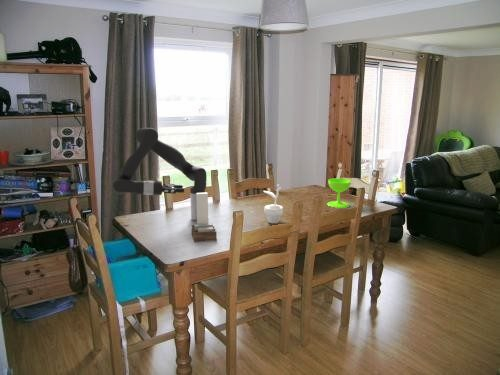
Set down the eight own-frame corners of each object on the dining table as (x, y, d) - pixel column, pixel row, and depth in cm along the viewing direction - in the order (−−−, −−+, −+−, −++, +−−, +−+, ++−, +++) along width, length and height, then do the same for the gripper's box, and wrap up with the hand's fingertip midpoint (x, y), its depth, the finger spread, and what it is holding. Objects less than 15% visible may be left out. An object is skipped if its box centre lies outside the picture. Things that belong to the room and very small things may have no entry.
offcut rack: (191, 233, 220) (191, 225, 219) (212, 231, 223) (212, 223, 222) (194, 242, 207) (194, 233, 206) (216, 240, 210) (216, 231, 209)
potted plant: (285, 220, 243) (286, 181, 238) (279, 226, 233) (280, 185, 227) (266, 218, 248) (266, 180, 242) (259, 223, 238) (260, 183, 232)
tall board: (197, 230, 219) (196, 192, 214) (208, 229, 220) (207, 192, 215) (197, 232, 217) (196, 194, 211) (208, 231, 218) (207, 193, 213)
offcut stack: (194, 233, 214) (194, 224, 213) (212, 232, 217) (212, 223, 216) (195, 237, 208) (195, 228, 207) (214, 236, 211) (214, 227, 209)
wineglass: (322, 203, 281) (323, 179, 277) (340, 201, 288) (341, 177, 284) (335, 209, 267) (337, 184, 263) (354, 206, 274) (356, 182, 270)
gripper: (153, 183, 199) (185, 184, 203) (152, 178, 212) (182, 179, 217) (152, 197, 200) (184, 198, 204) (152, 192, 214) (181, 192, 218)
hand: (183, 188), depth 211 cm, fingers open, 8 cm apart
